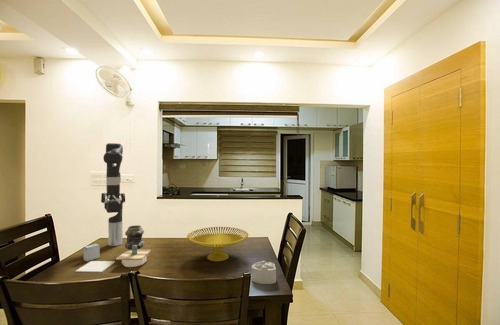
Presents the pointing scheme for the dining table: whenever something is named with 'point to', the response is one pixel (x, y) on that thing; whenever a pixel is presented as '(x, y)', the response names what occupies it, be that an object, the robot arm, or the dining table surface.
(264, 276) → the lumpy-topped squat cylinder
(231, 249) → the dining table surface
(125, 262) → the bowl
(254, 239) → the dining table surface
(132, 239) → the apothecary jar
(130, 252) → the lid
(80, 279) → the dining table surface
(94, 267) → the mat
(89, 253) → the medicine box
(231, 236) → the cake stand
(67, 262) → the dining table surface
